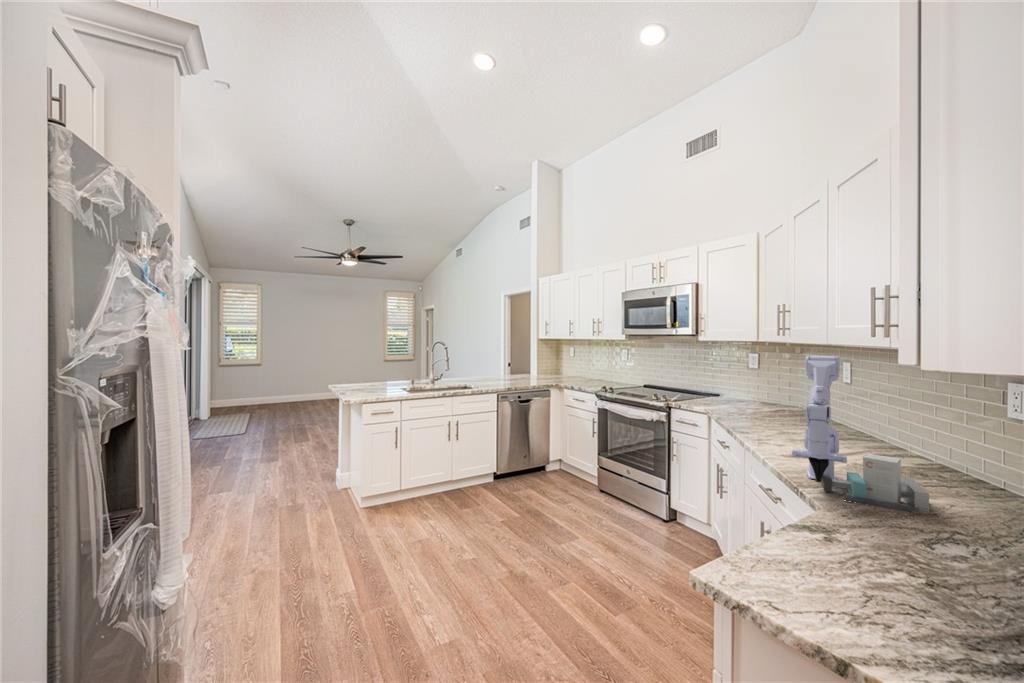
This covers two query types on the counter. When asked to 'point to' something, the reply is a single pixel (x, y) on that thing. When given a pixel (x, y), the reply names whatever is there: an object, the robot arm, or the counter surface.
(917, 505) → the vise
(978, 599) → the counter surface
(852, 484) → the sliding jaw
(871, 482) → the small box
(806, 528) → the counter surface
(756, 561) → the counter surface
